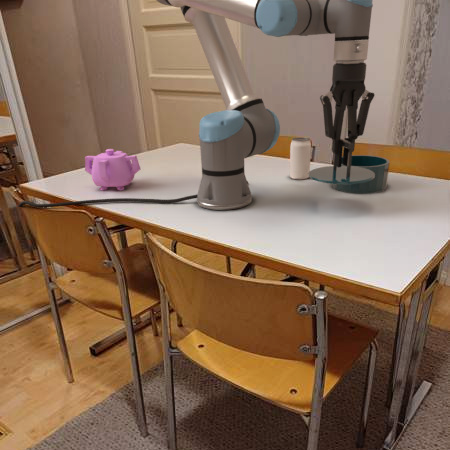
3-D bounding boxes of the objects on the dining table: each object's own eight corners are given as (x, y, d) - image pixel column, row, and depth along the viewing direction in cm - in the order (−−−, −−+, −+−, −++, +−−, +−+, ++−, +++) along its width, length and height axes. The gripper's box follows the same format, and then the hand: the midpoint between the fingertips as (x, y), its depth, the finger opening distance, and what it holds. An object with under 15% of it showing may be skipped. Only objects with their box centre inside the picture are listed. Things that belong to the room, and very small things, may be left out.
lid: (323, 189, 112) (325, 148, 107) (299, 173, 126) (300, 136, 121) (386, 182, 114) (391, 142, 110) (355, 168, 129) (359, 131, 124)
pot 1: (150, 179, 156) (145, 143, 151) (133, 194, 141) (128, 155, 136) (99, 179, 159) (93, 144, 153) (77, 194, 144) (70, 155, 138)
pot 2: (346, 195, 132) (348, 169, 128) (324, 182, 145) (326, 157, 142) (396, 190, 135) (400, 164, 131) (370, 177, 148) (373, 153, 144)
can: (303, 180, 148) (305, 141, 142) (285, 178, 151) (286, 139, 145) (313, 176, 152) (315, 138, 146) (295, 173, 156) (297, 136, 150)
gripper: (326, 64, 103) (320, 171, 114) (387, 60, 105) (375, 166, 117) (313, 63, 109) (309, 165, 121) (371, 60, 112) (361, 160, 123)
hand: (341, 165), depth 119 cm, fingers closed on lid, 2 cm apart
